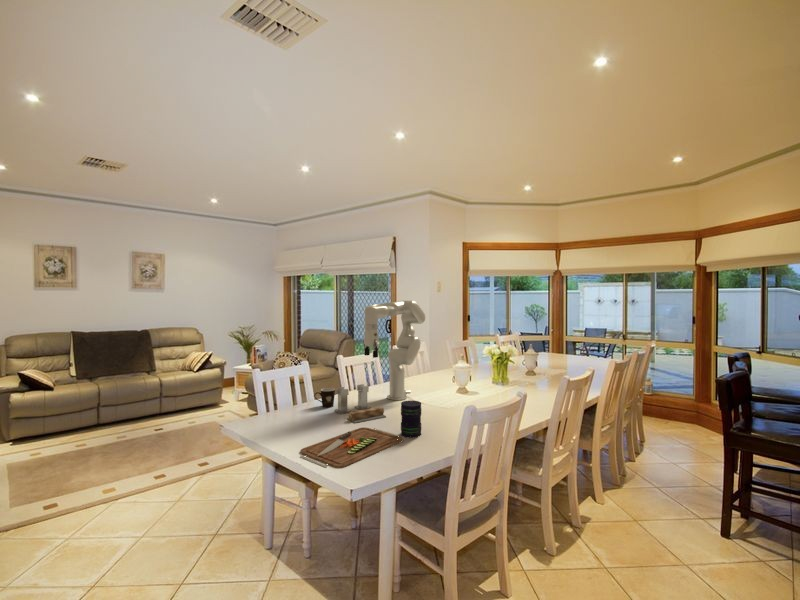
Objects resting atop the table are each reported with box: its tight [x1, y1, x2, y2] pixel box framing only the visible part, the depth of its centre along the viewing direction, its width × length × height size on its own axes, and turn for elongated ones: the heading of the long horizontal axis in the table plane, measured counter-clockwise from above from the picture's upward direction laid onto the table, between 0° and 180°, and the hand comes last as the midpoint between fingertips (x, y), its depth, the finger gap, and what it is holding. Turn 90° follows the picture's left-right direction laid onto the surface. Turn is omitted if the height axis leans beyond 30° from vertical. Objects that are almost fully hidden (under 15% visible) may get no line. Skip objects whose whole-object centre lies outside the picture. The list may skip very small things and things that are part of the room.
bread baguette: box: [348, 406, 385, 422], centre depth 221 cm, size 20×4×4 cm, turn 124°
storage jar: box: [400, 400, 422, 439], centre depth 195 cm, size 10×10×15 cm
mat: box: [346, 414, 387, 424], centre depth 221 cm, size 19×9×1 cm, turn 124°
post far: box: [354, 383, 372, 411], centre depth 240 cm, size 7×7×13 cm
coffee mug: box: [313, 387, 336, 409], centre depth 244 cm, size 12×9×10 cm
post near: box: [334, 386, 352, 415], centre depth 232 cm, size 7×7×13 cm
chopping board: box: [299, 427, 404, 469], centre depth 180 cm, size 45×27×3 cm, turn 141°
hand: (371, 356), depth 240 cm, fingers open, 9 cm apart
